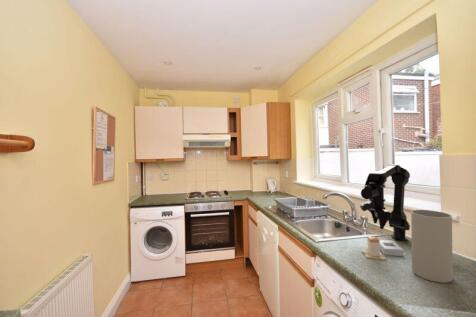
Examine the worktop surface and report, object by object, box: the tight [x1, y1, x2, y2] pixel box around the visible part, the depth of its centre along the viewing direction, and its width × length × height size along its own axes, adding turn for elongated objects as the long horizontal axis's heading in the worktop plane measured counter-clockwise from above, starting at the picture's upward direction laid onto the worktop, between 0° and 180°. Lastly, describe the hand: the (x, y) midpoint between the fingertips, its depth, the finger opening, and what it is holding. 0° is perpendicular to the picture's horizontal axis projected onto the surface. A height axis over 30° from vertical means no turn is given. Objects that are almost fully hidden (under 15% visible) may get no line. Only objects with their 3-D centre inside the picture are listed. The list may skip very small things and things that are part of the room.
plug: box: [366, 235, 381, 257], centre depth 110 cm, size 4×4×8 cm
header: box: [379, 239, 404, 257], centre depth 116 cm, size 12×8×3 cm, turn 166°
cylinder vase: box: [410, 209, 454, 284], centre depth 91 cm, size 12×12×25 cm
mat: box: [361, 250, 387, 261], centre depth 110 cm, size 8×8×1 cm
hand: (378, 226), depth 119 cm, fingers open, 9 cm apart
